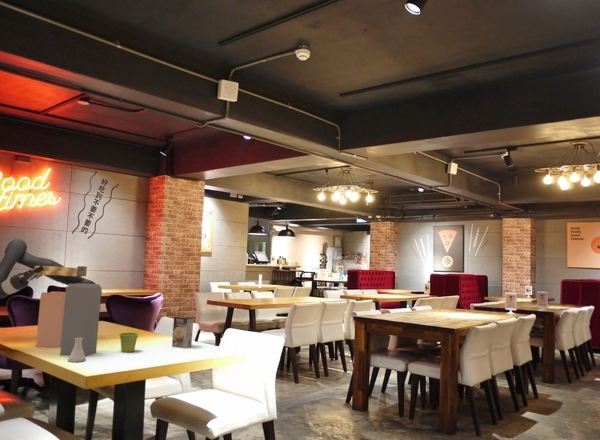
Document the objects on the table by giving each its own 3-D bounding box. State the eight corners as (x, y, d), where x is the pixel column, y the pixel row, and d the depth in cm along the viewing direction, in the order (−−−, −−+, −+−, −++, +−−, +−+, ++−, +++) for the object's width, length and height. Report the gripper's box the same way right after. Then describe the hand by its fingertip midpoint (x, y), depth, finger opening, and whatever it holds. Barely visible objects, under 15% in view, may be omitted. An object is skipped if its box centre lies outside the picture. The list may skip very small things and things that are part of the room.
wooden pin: (33, 274, 237) (34, 264, 237) (39, 274, 242) (40, 264, 242) (80, 276, 235) (81, 266, 235) (86, 276, 240) (86, 266, 240)
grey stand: (60, 355, 228) (66, 283, 232) (72, 351, 239) (78, 283, 242) (84, 356, 228) (90, 285, 231) (96, 352, 238) (101, 284, 242)
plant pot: (135, 353, 241) (137, 335, 242) (116, 352, 240) (117, 335, 240) (139, 349, 250) (140, 332, 251) (119, 349, 249) (121, 332, 250)
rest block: (36, 346, 247) (41, 292, 250) (47, 343, 257) (52, 291, 260) (58, 347, 246) (63, 293, 249) (69, 344, 256) (73, 292, 259)
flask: (78, 363, 213) (80, 339, 214) (64, 361, 214) (66, 338, 215) (89, 360, 220) (90, 337, 221) (74, 358, 222) (76, 336, 223)
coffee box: (171, 346, 264) (173, 316, 265) (178, 345, 270) (180, 315, 271) (184, 348, 260) (186, 318, 262) (192, 346, 266) (194, 317, 267)
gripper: (2, 277, 233) (33, 260, 232) (21, 276, 247) (51, 260, 247) (8, 291, 232) (40, 274, 232) (27, 289, 246) (56, 274, 246)
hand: (45, 267), depth 239 cm, fingers closed on wooden pin, 4 cm apart
